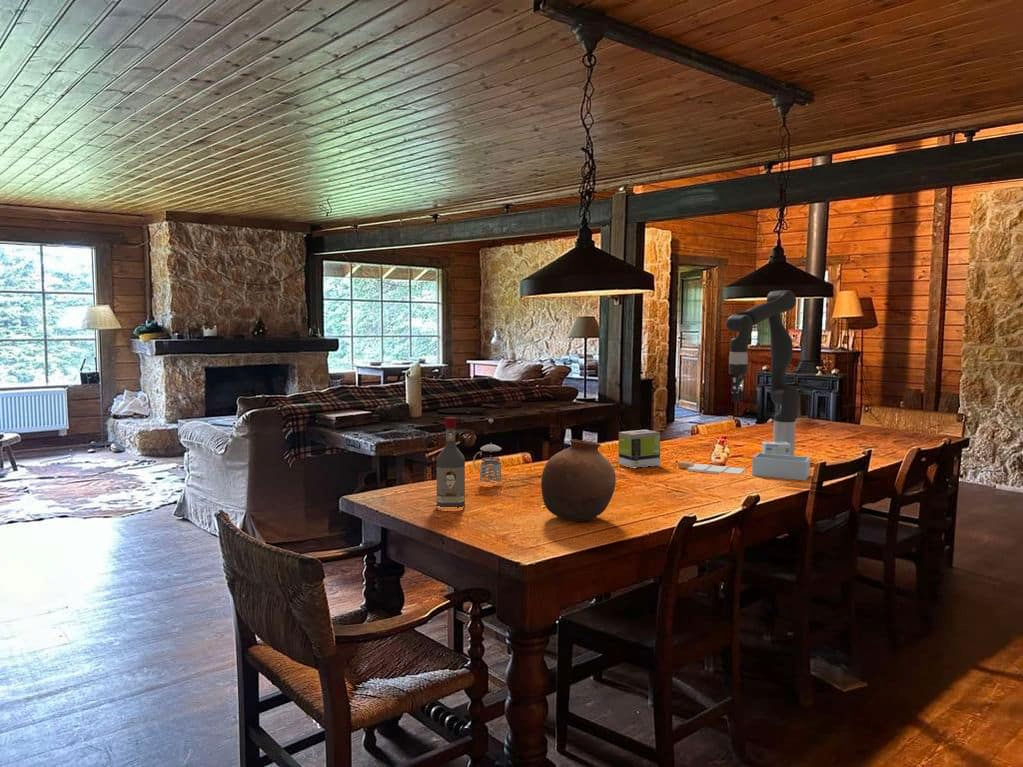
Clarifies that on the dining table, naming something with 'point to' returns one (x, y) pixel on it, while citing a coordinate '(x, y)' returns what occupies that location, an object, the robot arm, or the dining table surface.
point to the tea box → (639, 448)
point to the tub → (781, 466)
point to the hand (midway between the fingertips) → (737, 401)
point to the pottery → (578, 482)
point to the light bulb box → (776, 448)
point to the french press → (487, 461)
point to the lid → (709, 468)
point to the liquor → (450, 471)
